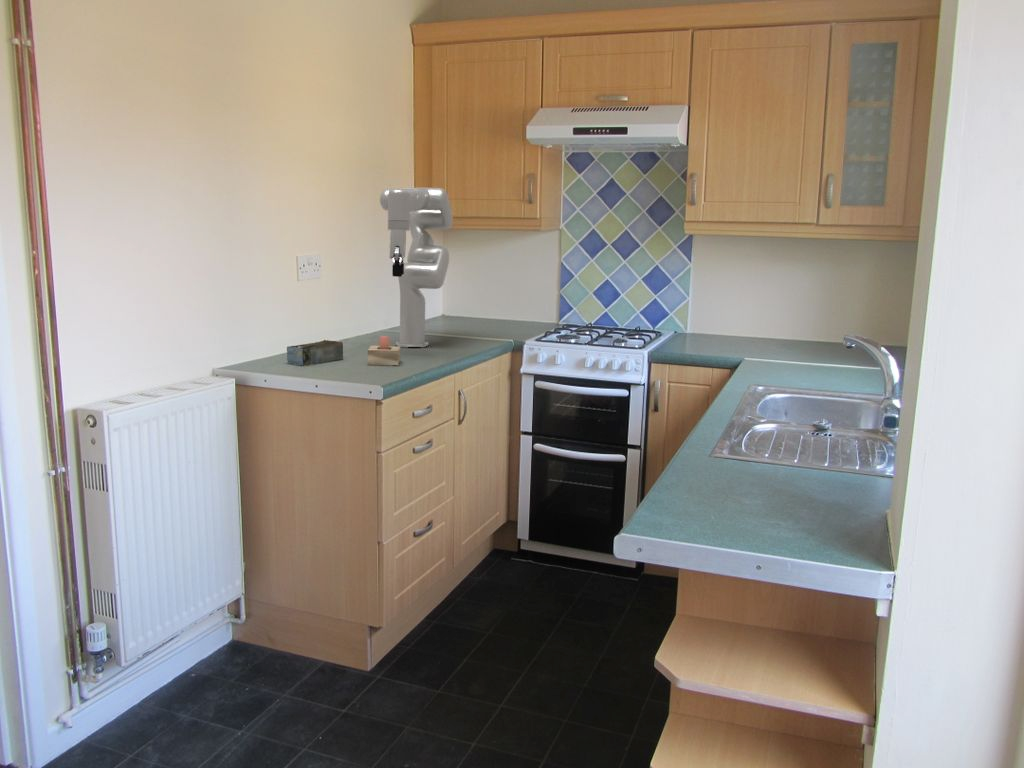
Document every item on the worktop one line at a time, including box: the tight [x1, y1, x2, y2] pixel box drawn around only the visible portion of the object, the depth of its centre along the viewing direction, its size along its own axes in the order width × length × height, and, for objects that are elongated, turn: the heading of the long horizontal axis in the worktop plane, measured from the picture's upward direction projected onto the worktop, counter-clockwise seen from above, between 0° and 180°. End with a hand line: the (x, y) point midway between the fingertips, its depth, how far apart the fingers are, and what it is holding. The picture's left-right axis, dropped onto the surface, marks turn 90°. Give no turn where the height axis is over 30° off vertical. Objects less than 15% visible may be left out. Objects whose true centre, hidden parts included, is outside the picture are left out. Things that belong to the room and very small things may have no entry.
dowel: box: [379, 335, 390, 350], centre depth 289 cm, size 3×3×9 cm
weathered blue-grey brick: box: [286, 339, 344, 367], centre depth 288 cm, size 8×19×7 cm, turn 147°
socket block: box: [367, 345, 401, 366], centre depth 290 cm, size 10×10×5 cm
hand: (398, 275), depth 302 cm, fingers open, 9 cm apart
